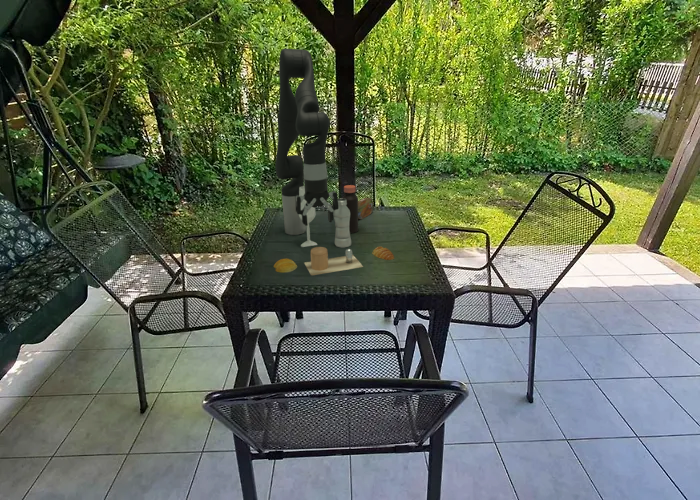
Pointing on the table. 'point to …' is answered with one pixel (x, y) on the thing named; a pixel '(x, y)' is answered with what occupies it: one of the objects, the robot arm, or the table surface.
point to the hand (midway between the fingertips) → (318, 223)
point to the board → (335, 265)
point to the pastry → (383, 253)
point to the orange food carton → (365, 207)
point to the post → (348, 256)
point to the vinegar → (352, 207)
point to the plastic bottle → (342, 224)
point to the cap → (319, 258)
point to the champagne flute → (310, 217)
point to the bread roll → (285, 265)
